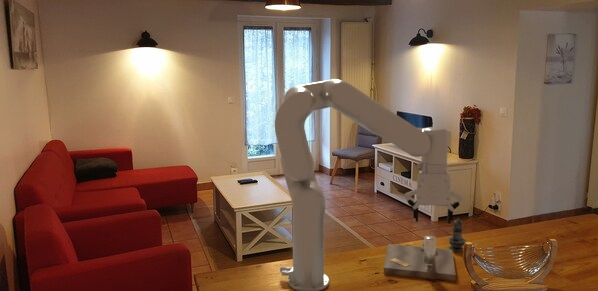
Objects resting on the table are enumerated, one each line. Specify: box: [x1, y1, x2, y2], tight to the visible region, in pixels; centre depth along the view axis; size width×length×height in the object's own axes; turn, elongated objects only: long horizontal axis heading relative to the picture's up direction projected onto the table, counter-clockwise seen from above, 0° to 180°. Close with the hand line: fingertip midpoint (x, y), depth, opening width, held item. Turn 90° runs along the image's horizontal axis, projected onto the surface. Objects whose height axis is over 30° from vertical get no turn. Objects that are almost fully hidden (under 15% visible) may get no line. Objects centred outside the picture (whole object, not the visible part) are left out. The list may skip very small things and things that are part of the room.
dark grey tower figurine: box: [448, 217, 466, 253], centre depth 170 cm, size 6×6×12 cm
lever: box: [422, 235, 437, 266], centre depth 157 cm, size 20×4×9 cm, turn 166°
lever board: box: [383, 243, 457, 282], centre depth 159 cm, size 22×20×3 cm
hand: (432, 221), depth 147 cm, fingers open, 9 cm apart
